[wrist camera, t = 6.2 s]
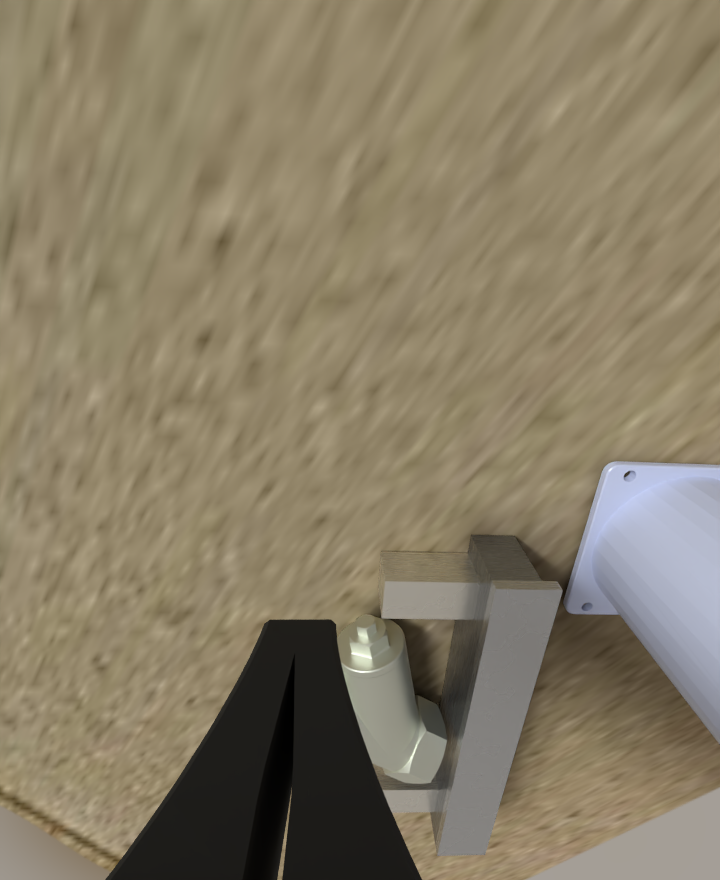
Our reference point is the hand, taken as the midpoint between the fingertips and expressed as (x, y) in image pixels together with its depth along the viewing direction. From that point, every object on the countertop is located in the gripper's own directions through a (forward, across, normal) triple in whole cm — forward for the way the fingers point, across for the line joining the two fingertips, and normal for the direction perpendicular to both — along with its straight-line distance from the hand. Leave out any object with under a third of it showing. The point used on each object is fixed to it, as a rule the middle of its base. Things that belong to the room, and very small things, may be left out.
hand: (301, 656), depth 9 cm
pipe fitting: (+10, -3, +12) cm, 16 cm away
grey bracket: (+10, -6, +13) cm, 17 cm away
